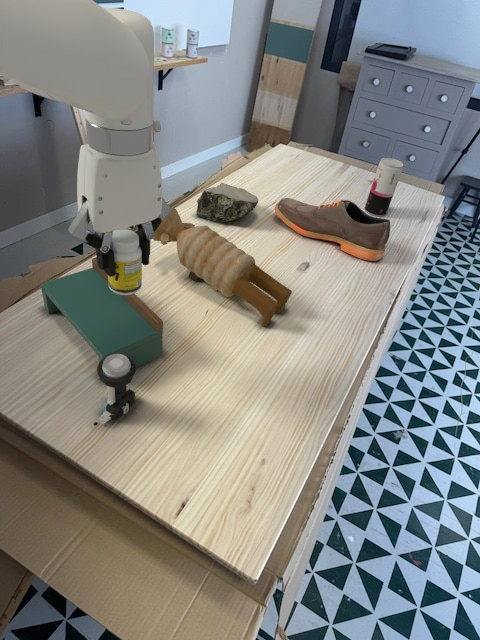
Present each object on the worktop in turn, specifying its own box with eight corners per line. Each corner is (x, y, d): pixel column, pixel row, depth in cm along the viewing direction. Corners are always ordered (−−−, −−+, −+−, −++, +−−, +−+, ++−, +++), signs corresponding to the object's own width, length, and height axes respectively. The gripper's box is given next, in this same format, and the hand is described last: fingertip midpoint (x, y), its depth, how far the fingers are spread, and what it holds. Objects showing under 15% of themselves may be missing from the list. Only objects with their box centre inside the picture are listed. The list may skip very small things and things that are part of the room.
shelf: (105, 382, 75) (102, 346, 70) (45, 309, 87) (38, 274, 81) (162, 355, 81) (163, 321, 76) (99, 290, 93) (96, 257, 88)
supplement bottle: (102, 281, 68) (99, 231, 63) (132, 273, 71) (131, 224, 66) (117, 299, 66) (115, 248, 60) (147, 290, 68) (148, 240, 63)
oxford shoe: (283, 208, 131) (291, 169, 124) (389, 249, 122) (404, 209, 114) (265, 222, 124) (272, 182, 116) (376, 267, 114) (391, 225, 106)
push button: (114, 434, 68) (111, 388, 62) (87, 417, 70) (81, 371, 63) (143, 405, 73) (143, 360, 66) (117, 389, 74) (114, 344, 68)
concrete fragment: (209, 187, 130) (256, 168, 123) (221, 223, 132) (268, 207, 125) (183, 193, 117) (234, 172, 110) (197, 233, 120) (248, 215, 112)
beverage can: (362, 212, 136) (378, 162, 127) (366, 204, 141) (382, 155, 131) (384, 219, 135) (402, 169, 125) (387, 210, 140) (405, 161, 130)
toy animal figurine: (279, 319, 99) (173, 243, 106) (301, 277, 91) (184, 198, 97) (255, 343, 92) (143, 260, 99) (276, 300, 84) (152, 213, 91)
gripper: (163, 118, 61) (160, 239, 73) (34, 133, 52) (54, 269, 63) (197, 137, 57) (188, 262, 69) (65, 158, 48) (80, 299, 59)
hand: (124, 264), depth 66 cm, fingers closed on supplement bottle, 4 cm apart
